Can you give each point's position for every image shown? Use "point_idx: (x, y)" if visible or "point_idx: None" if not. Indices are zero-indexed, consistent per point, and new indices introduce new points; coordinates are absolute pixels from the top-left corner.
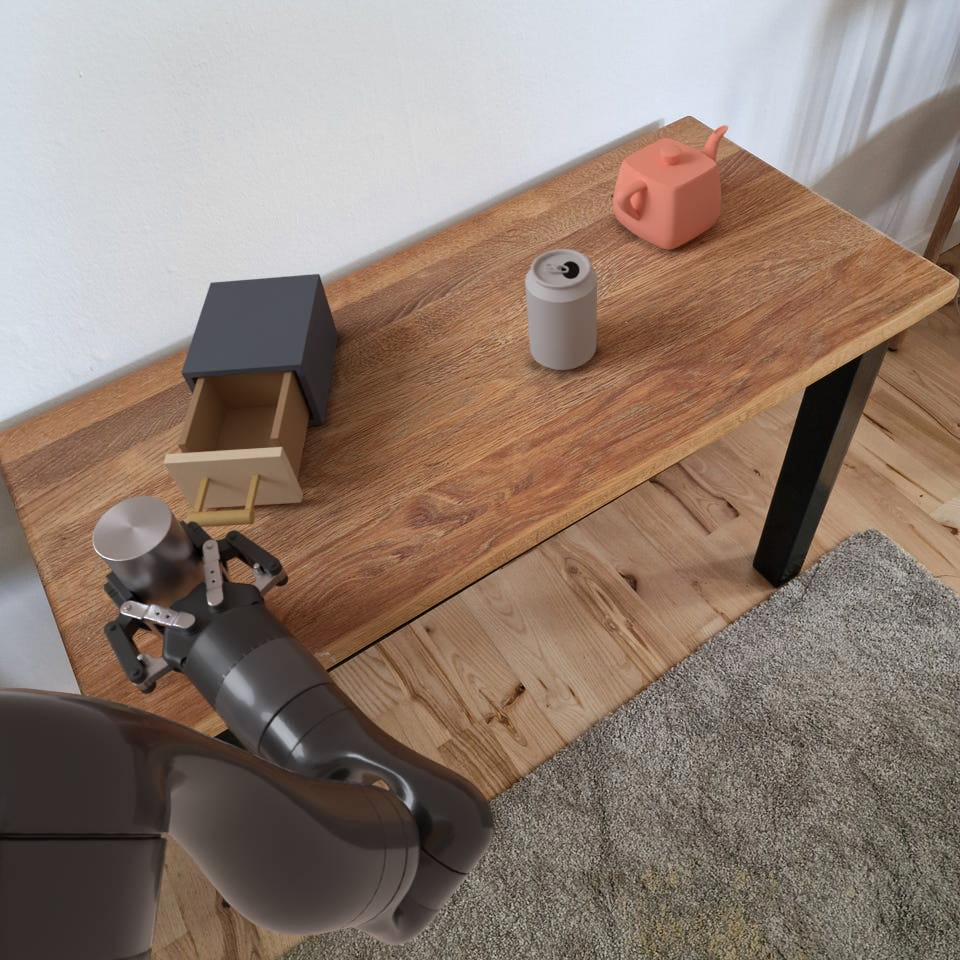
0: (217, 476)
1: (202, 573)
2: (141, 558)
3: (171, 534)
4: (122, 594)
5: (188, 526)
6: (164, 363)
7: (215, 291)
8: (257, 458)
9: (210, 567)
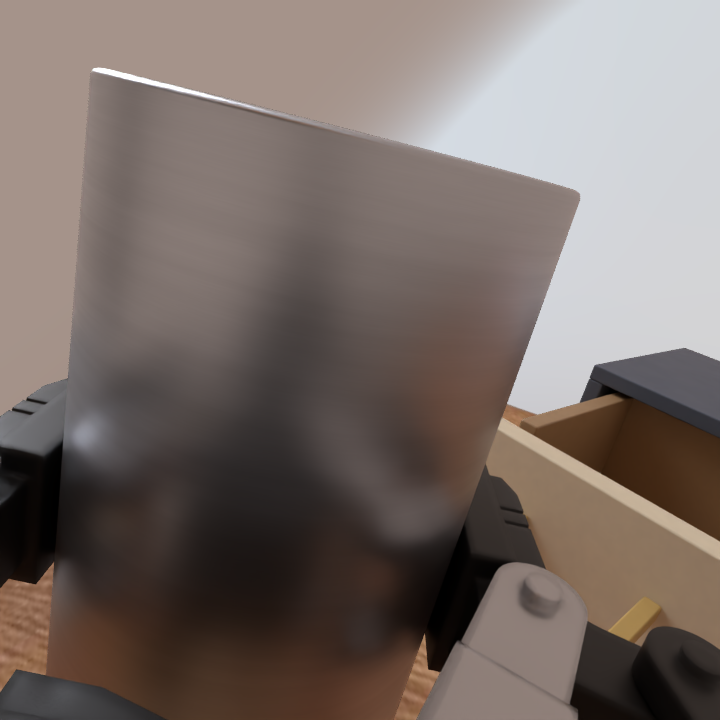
0: (552, 530)
1: (374, 692)
2: (209, 134)
3: (501, 240)
4: (34, 423)
5: (487, 471)
6: (520, 412)
7: (690, 354)
8: (717, 560)
9: (495, 704)
